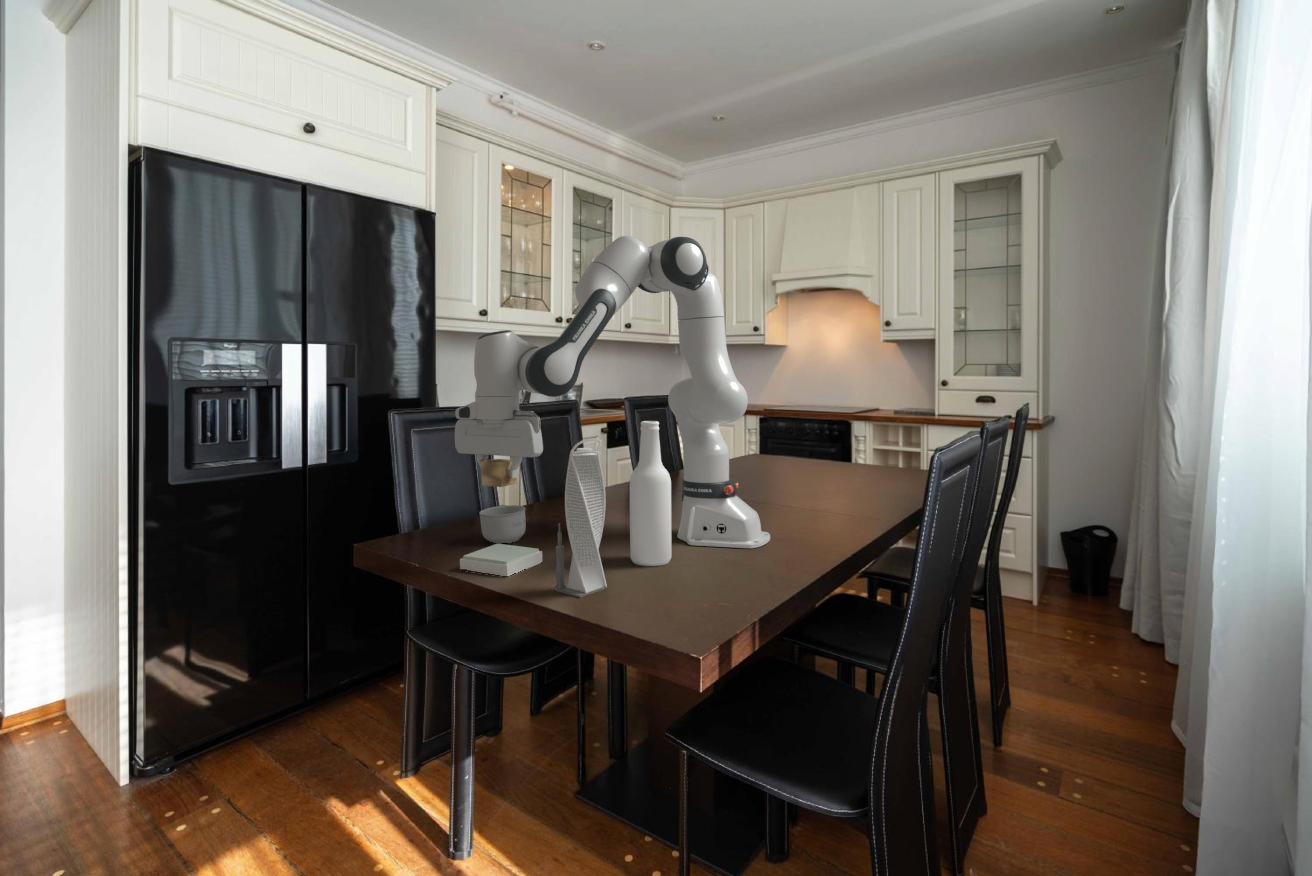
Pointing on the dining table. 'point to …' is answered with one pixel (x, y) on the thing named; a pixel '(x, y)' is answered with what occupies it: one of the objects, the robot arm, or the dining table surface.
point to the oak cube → (496, 473)
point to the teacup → (503, 523)
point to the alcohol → (650, 503)
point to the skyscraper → (583, 523)
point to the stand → (501, 559)
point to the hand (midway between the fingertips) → (499, 476)
